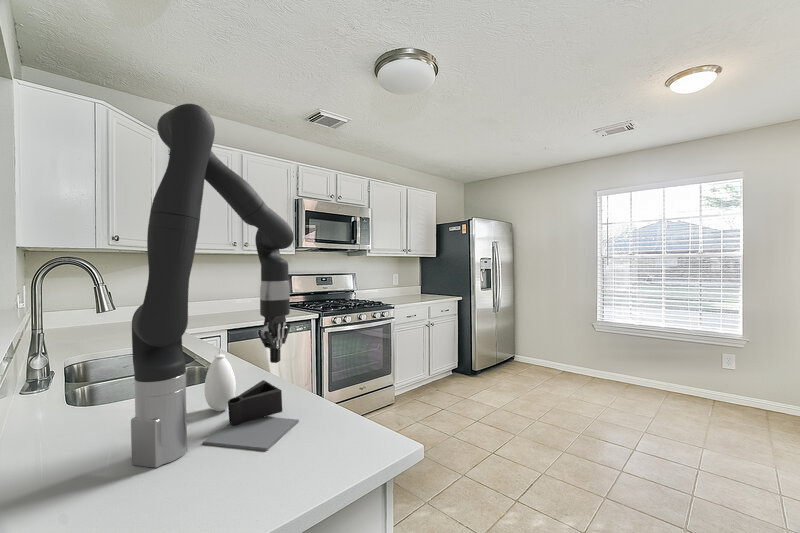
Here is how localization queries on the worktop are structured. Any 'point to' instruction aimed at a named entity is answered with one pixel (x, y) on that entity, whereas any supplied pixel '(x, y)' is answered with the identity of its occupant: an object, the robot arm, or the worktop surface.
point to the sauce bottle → (219, 383)
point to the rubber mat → (252, 433)
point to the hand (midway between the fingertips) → (275, 361)
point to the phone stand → (255, 403)
